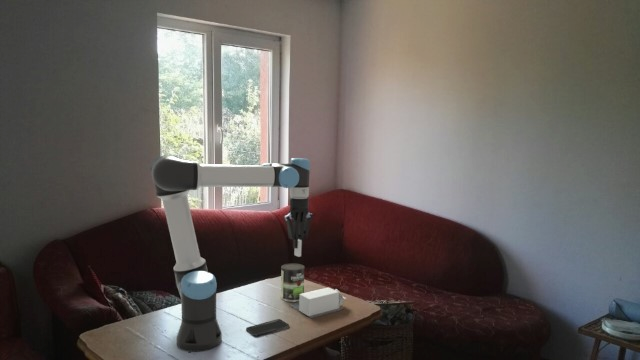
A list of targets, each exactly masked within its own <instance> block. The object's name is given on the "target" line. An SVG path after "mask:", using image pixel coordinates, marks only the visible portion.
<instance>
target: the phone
mask: <svg viewBox="0 0 640 360" xmlns="http://www.w3.org/2000/svg"><path fill="white" fill-rule="evenodd" d="M289 328H290V324H289V323H287V322H286V321H284V320H282V319H280V318H278V319H276V318H275V319H273V320H268V321H266V322H262V323H259V324H255V325H251V326H248V327H246V328H245V331H246V332H247V333H249V334H250V335H251V336H252V337H254V338H258V337H259V338H260V337H262V336H267V335H268V334H269V335H270V334H273V333H276V332H280V331H283V330H287V329H289Z"/></svg>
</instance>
